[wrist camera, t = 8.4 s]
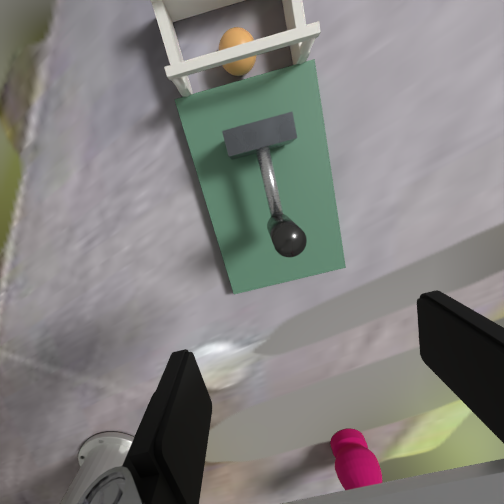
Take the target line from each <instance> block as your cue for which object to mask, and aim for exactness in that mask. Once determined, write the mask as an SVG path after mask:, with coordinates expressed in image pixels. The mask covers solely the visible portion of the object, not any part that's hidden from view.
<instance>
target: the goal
mask: <svg viewBox="0 0 504 504" xmlns="http://www.w3.org/2000/svg"><path fill="white" fill-rule="evenodd" d="M241 1H245V0H151V2H152V5H153V8H154V12H155V15H156V19H157V22H158V25H159V29H160V32H161V35H162V39H163V42H164V45H165V49H166V52H167V55H168V59H169V62H170V65H169V66H166V67H164V68H165V71H166V75H167V77H168V79H169V80H172V82H173V83H174V84H175V85H176V87H177V89H178V91H179V93H180V94H181V95H182V96H183V97H184V96H185V97H188V96H189V95H191V94H193V92H192V89H191V85H190V82H189V78H188V75H190V74H194V73H197V72H201V71H204V70H207V69H211V68H214V67H218V66H221V65H225V64H228V63H231V62H235V61H238V60H242V59H245V58H249V57H252V56H255V55H259V54H262V53H266V52H269V51H273V50H276V49H279V48H283V47H286V46H290V50H291V56H292V61H293V65H296V64H302V63H304V62H306V60H307V58H308V56H309V54H310V49H311V47H312V45H313V43H314V41H315V39H316V38H317V37H318V36H319V34H320V25H319V21H318V22H315V23H311V24H308V25H306V21H305V15H304V8H303V1H302V0H282V3H283V9H284V15H285V21H286V27H287V31H284V32H281V33H277V34H274V35H271V36H267V37H264V38H260V39H257V40H254V41H250V42H247V43H243V44H240V45H237V46H233V47H230V48H227V49H223V50H220V51H216V52H213V53H210V54H206V55H203V56H199V57H196V58H193V59H189V60H186V61H183V57H182V54H181V50H180V46H179V43H178V39H177V36H176V32H175V29H174V25H173V22H176V21H179V20H182V19H186V18H189V17H192V16H195V15H199V14H202V13H205V12H209V11H212V10H215V9H218V8H222V7H225V6H228V5H232V4H235V3H238V2H241Z"/></svg>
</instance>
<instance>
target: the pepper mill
mask: <svg viewBox="0 0 504 504" xmlns="http://www.w3.org/2000/svg"><path fill="white" fill-rule="evenodd" d="M330 444H331V448H332V451H333V454H334V456H335V458H336V460H335V470H336V473H337V476H338V478H339V480H340V482H341V484H342V486H343V487H344V489H345V490H350V489H355V488H359V487H364V486H369V485H374V484H379V483H382V474H381V469H380V466H379V463H378V461H377V458H376V457H375V455H374V454H373V453H372V452H371V451H370V450H369V449H368V446H367V443H366V441H365V439H364V436H363V435H362V433H361V432H359V431H358V430H355V429H343V430H340V431H338V432H337V433H335V434H334V435H333V436H332V438H331V442H330Z"/></svg>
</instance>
